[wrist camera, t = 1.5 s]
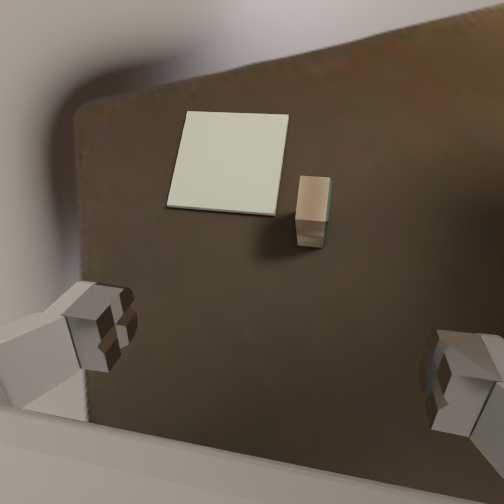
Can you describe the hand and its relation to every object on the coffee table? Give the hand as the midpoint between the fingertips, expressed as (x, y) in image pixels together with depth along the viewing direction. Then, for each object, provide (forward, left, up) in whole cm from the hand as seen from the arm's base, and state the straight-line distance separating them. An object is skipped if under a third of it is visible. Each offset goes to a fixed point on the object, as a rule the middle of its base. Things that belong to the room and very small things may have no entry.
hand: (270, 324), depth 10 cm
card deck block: (0, -12, -26) cm, 29 cm away
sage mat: (+10, -19, -26) cm, 34 cm away
